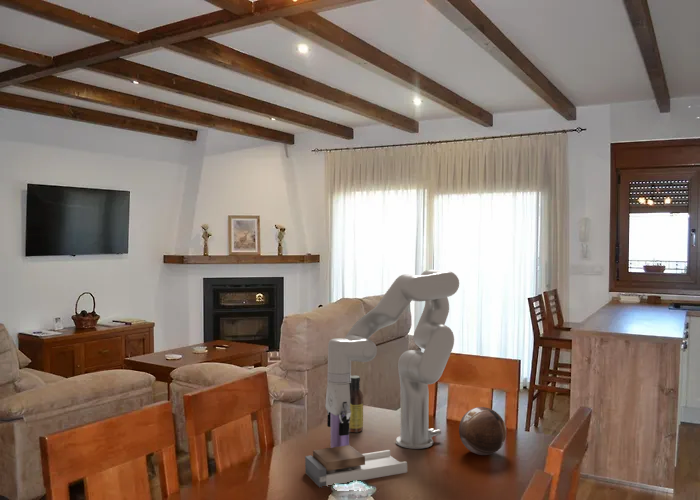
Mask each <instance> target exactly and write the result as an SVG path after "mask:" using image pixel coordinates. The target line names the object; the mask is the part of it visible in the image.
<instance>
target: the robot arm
mask: <svg viewBox="0 0 700 500" xmlns="http://www.w3.org/2000/svg"><path fill="white" fill-rule="evenodd" d="M459 288H460V279H459V277H458V275H457V274H455V273H454V272H452V271H449V270H440V269H428V270H425V271H423V272H422V273H421V274H420V275H416V274H401V275H399V276H398V277H397V278H396V279H395V280H394V281H393V282H392V284H391V285H390V287H389V288H388V289H387V291H386V292H385V293H384V295H383V296H382V298H381V299H380V300H379V301H378V303H377V304H376V305H375V307H374V308H372V309H370V310H369V311H368V312H367V313H366V314H364V315H363V316H362V317H361V318H359V319H358V320H357V321H356V322H355V323H354V325H353V326H351V328H350V330H349V331H348V332H347V333H346V335H345V336H344V338H341V337H339V338H331V339H329V341H328V343H327V345H328V346H327V377H326V378H327V382H326V392H325V393H326V394H325V410H326V413H327V421H326V422H327V424H326V426H327V427H328V428H331V413H332V414H333V415H335V416H338V415H339V418H340V422H341V423H339V435H340V436H343V435H349V436H350V432H349V422H350V415H351V411H350V387H349V383H351V376H352V362H358V363H359V362H360V363H368V362H371V361H372V360H374V359H375V357H376V356H377V355H378V354H377V353H378V348H377V345H376V343H375V342H374V341H372V340H371V339H370V338H371V337H372V336H373V335H374V334H375V333H376V332H378V331H380V330H381V329H383V328H386V327H389V326H391V325H394V324H395V323H397V322H398V321H399V319H400V318H401V316H402V315H403V314H404V312H405V310H406V309H407V308H408V306H409V305H410V303H412V302H425V303H424V308H423V309H422V310H423V311H422V313H421V316H420V317H419V320H418V322H417V325H416V327H415V329H414V331H413V337H412V339H413V342H414V344H415V345H416V346H417V347H419V348H421V349H422V350H423V349H424V351H423V352H422V351H419V350H416V349H408V350H405V351H404V352H403V353H402V354H401V355H400V356H399V358H398V362H397V370H398V371H397V372H398V376H399V384H400V435H399V436H397V437H396V438H395V443H396V445H397V446H399V447H402V448H406V449H412V450H420V449H426V448H429V447H432V446H433V445H434V439H433V437H434V436H436V437H437V436H441V435H442V431H441V429H434V428H429V426H430V425H429V423H430V422H429V406H430V405H429V396H430V394H429V385H433V384H435V383H437V382H438V381H439V380H440V379H441V377H442V375H443V373H444V370H445V368H446V365H447V363H448V361H449V358H450V357H451V353H452V351H453V348H454V345H455V336H454V332H453V330H452V329H451V328H450V327H449V326H447V325H445V324H446V322H447V319H448V315H449V313H450V302H449V297H452V296H453V295H455V294H456V293H457V292H458V290H459ZM341 412H345V413H341ZM342 416H344V417H343V418H342Z"/></svg>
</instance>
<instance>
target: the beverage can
mask: <svg viewBox="0 0 700 500" xmlns="http://www.w3.org/2000/svg"><path fill="white" fill-rule="evenodd" d="M341 413H345V412H341ZM343 417H344V416H342V418H343ZM339 423H341V422H340V418H339V415H338V416H335V415H333V414H332V413H331V427H330V448H333V447H340V446H346V445H350V434H349V435H343V436H340V435H339Z"/></svg>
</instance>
